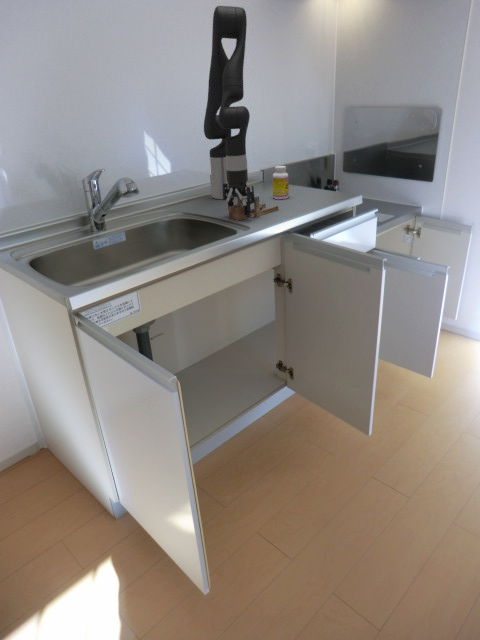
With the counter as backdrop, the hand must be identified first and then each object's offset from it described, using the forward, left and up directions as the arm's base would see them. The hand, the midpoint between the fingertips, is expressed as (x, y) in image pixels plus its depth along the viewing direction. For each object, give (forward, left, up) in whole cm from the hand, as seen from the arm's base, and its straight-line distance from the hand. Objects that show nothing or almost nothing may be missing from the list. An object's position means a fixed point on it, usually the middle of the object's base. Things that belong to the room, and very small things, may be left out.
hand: (239, 213), depth 178 cm
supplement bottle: (-9, +33, -2) cm, 34 cm away
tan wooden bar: (0, +6, -2) cm, 7 cm away
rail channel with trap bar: (0, +10, -2) cm, 10 cm away
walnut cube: (0, -1, -2) cm, 2 cm away
